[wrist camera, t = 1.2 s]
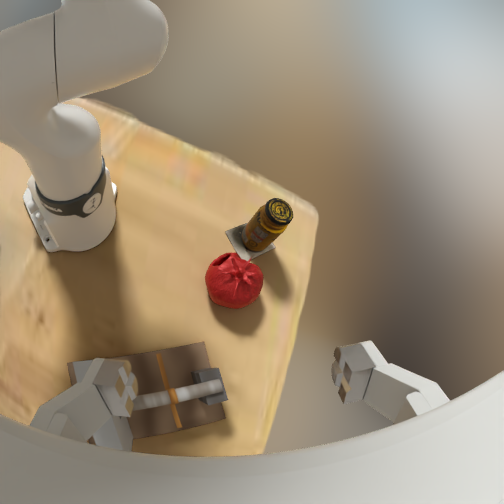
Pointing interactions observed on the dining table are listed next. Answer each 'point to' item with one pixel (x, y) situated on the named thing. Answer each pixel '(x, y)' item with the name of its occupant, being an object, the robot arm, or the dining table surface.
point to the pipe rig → (172, 390)
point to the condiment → (261, 229)
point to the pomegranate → (233, 281)
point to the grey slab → (115, 428)
